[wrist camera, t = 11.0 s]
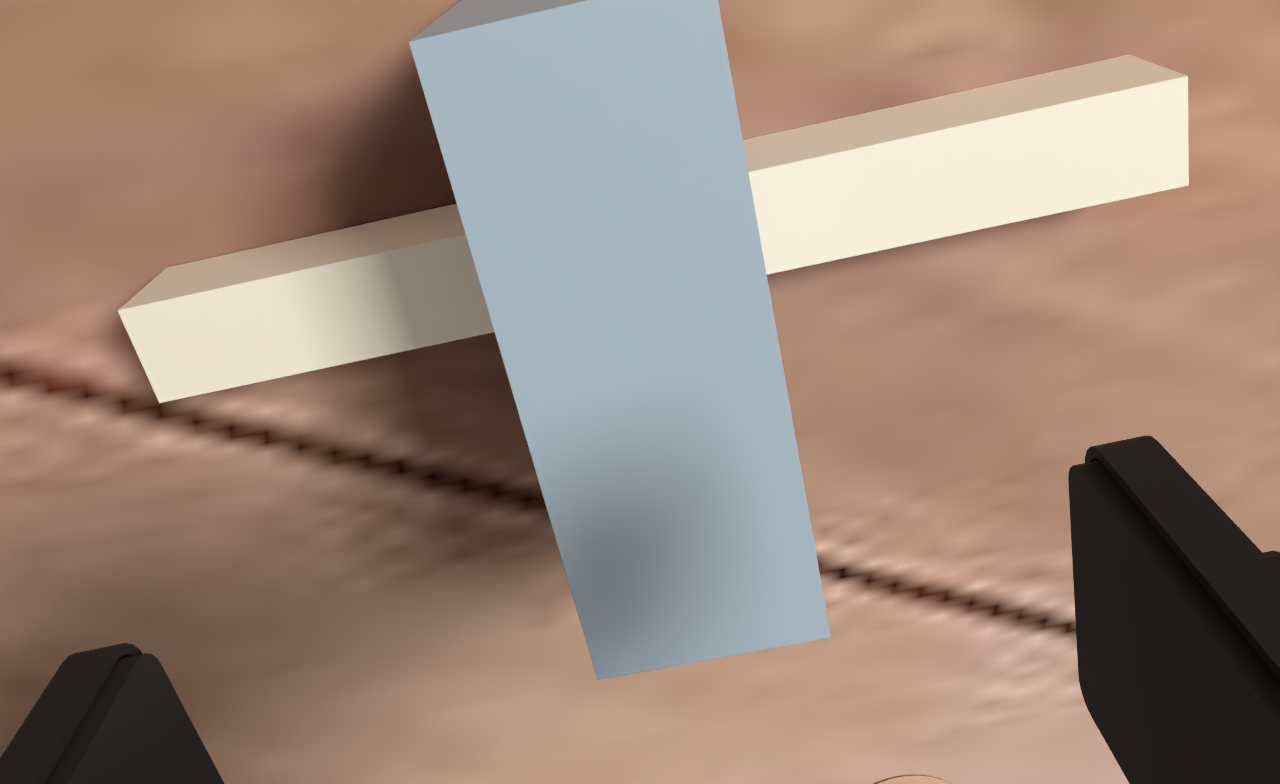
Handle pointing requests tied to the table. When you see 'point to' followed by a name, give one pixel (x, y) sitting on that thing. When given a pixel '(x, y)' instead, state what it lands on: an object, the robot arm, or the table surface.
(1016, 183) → the rail
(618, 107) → the grey-blue plate
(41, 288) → the table surface
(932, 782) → the cup with straw
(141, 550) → the table surface
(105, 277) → the table surface
